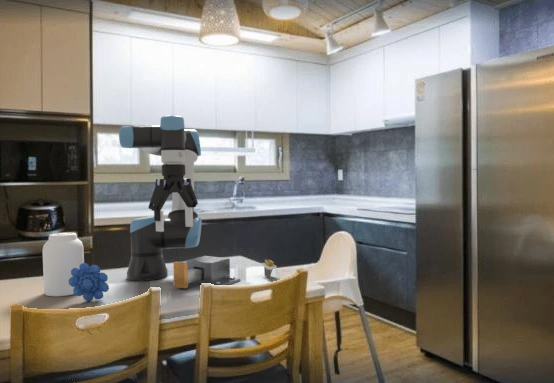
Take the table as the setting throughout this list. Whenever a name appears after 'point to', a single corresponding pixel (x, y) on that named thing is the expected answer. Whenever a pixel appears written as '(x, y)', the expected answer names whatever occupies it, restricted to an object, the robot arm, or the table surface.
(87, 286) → the blue rosette flower
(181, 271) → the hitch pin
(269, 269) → the potted plant
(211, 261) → the bracket
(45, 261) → the white jar
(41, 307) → the table surface
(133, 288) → the table surface
